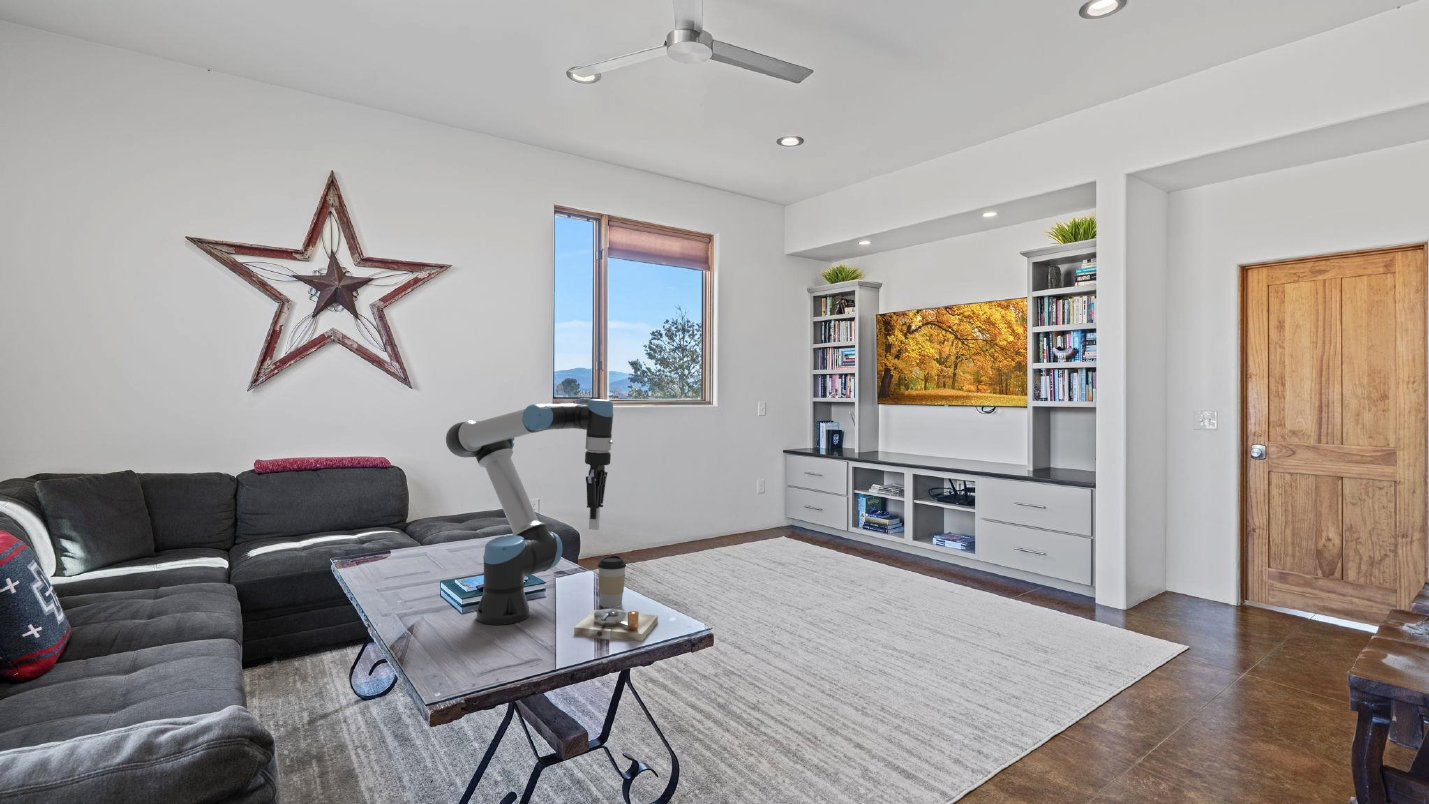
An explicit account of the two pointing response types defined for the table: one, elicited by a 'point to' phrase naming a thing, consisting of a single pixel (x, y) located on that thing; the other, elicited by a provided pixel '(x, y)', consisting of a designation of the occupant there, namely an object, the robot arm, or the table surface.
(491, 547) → the robot arm
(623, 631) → the stand
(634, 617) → the cam capstan
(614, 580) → the coffee cup
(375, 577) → the table surface
